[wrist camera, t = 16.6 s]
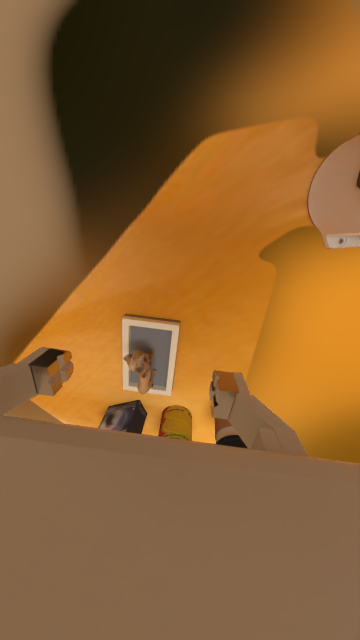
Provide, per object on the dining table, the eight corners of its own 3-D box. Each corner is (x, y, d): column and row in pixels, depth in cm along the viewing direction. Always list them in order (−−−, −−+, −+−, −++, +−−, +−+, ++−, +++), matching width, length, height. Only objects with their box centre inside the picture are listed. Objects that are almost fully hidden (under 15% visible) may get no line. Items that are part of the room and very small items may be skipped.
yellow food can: (168, 401, 53) (163, 442, 42) (196, 411, 54) (197, 455, 43) (157, 420, 57) (149, 463, 46) (184, 430, 58) (182, 474, 47)
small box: (139, 398, 54) (127, 432, 44) (148, 413, 56) (138, 449, 46) (108, 405, 56) (90, 439, 46) (117, 420, 58) (102, 455, 48)
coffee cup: (246, 402, 52) (265, 460, 38) (224, 417, 55) (235, 476, 41) (225, 386, 50) (237, 441, 36) (203, 403, 53) (207, 460, 39)
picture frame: (180, 321, 43) (179, 325, 41) (171, 389, 51) (170, 395, 49) (125, 314, 43) (121, 318, 41) (126, 382, 52) (123, 389, 49)
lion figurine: (131, 338, 45) (117, 360, 36) (152, 336, 44) (143, 358, 36) (144, 385, 50) (134, 413, 42) (163, 384, 50) (157, 412, 41)
